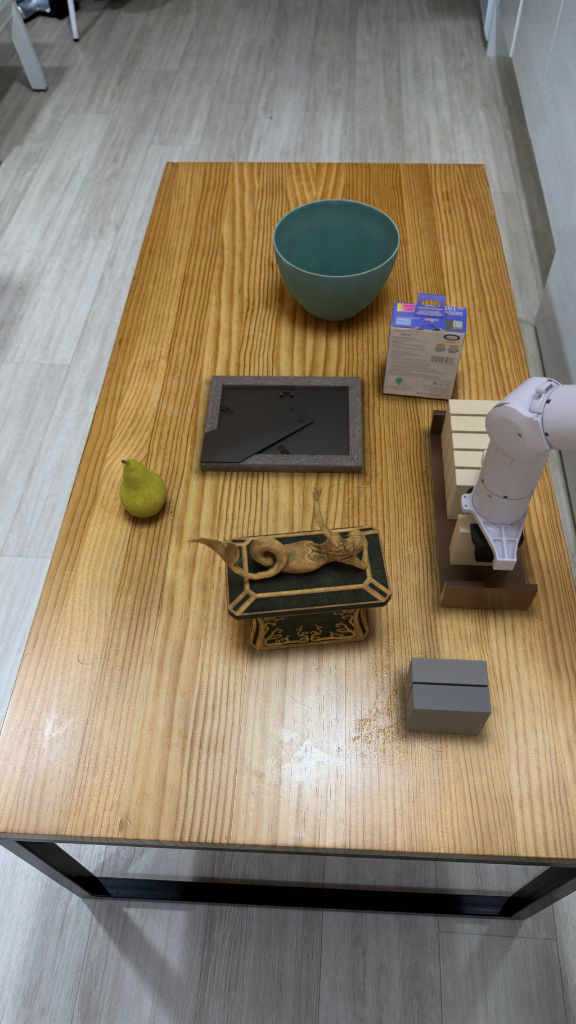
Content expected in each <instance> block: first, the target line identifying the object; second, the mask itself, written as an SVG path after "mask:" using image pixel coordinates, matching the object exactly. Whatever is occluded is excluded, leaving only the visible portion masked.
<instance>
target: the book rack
mask: <svg viewBox="0 0 576 1024" xmlns="http://www.w3.org/2000/svg"><path fill="white" fill-rule="evenodd" d="M446 411H447V409H446V410H445V409H444V410H443V409H433V410H432V415H431V420H430V425H429V429H428V430H429V431H428V444H429V446H428V448H429V460H430V461H429V463H430V477H431V492H432V505H433V507H432V508H433V522H434V523H433V524H434V537H435V553H436V567H437V568H436V569H437V582H438V583H437V585H438V598H439V607H440V608H459V609H485V610H486V609H487V610H508V611H509V610H510V611H529V609H530V607H531V605H532V603H533V601H534V599H535V597H536V596H537V594H538V591H539V586H538V584H537V583H527V581H526V573H525V568H524V567H525V566H524V561H523V560H524V559H523V552H522V546H521V547H518V549H517V552H516V558H517V561H516V563H515V566H514V568H513V570H494V569H493V566H479V565H452V564H450V553H449V546H450V543H451V539H452V536H453V533H454V529H455V526H456V522H457V519H447V506H446V503H447V501H446V493H445V484H446V483H445V480H444V466H443V455H442V451H443V449H442V442H441V433H442V429H443V424H444V420H445V415H446Z"/></svg>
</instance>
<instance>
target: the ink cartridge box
mask: <svg viewBox="0 0 576 1024" xmlns="http://www.w3.org/2000/svg"><path fill="white" fill-rule="evenodd" d="M446 299H447V295H445V294H436V293H425V292H418V294H417V300H416V303H408V302H398V301H395V302H393V305H392V312H391V317H390V323H389V331H388V339H387V340H388V341H387V348H386V349H387V351H386V357H385V358H386V360H385V368H384V369H385V370H384V377H383V378H384V380H383V384H382V393H383V394H387V395H398V396H407V397H408V396H409V397H417V398H428V399H439V400H448V401H449V399H452V396H453V393H454V387H455V383H456V380H457V379H456V378H457V374H458V370H459V365H460V361H461V357H462V351H463V346H464V342H465V338H466V334H467V324H468V322H467V321H468V311H467V310H468V309H467V307H466V306H452V305H446ZM431 300H432V301H435V302H437V303H439V305H437V304H424V303H422V302H425V301H431Z"/></svg>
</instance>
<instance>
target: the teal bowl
mask: <svg viewBox="0 0 576 1024" xmlns="http://www.w3.org/2000/svg"><path fill="white" fill-rule="evenodd" d="M400 242H401V234H400V230H399V228H398V226H397V224H396V223H395V221H394V220H393V219H392V218H391V217H390V216H389V215H388V214H387V213H386V212H384V211H382V210H381V209H379V208H377V207H375V206H372V205H370V204H368V203H364V202H362V201H357V200H352V199H343V198H328V199H320V200H319V199H318V200H314V201H310V202H306V203H304V204H301V205H299V206H297V207H294V208H293V209H291V210H290V211H288V212H287V213H285V215H283V216H282V217H281V218H280V219H279V221H277V223H276V224H275V227H274V229H273V234H272V245H273V252H274V256H275V260H276V265H277V268H278V271H279V273H280V276H281V279H282V280H283V282H284V284H285V287H286V289H288V292H289V293H290V294H291V296H292V297H293V298H294V300H295V301H296V302H297V303H298V304H299V305H300V306H301V307H302V308H303V309H304V310H305V311H307V312H308V313H309V314H311V315H312V316H313V317H315V318H317V319H320V320H322V321H328V322H340V321H341V322H342V321H345V320H348V319H351V318H353V317H355V316H356V315H357V314H359V313H361V312H362V311H363V310H364V309H365V308H367V307H368V306H369V305H370V304H372V302H373V301H374V300H375V299H376V298H377V297H378V296H379V294H380V293H381V291H382V290H383V288H384V287H385V285H386V283H387V281H388V279H389V278H390V276H391V273H392V272H393V270H394V266H395V263H396V260H397V258H398V255H399V250H400V249H399V248H400V244H401V243H400Z"/></svg>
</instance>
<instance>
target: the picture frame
mask: <svg viewBox="0 0 576 1024" xmlns="http://www.w3.org/2000/svg"><path fill="white" fill-rule="evenodd" d="M361 391H362V389H361V376H308V375H307V376H304V375H303V376H302V375H299V376H297V375H296V376H294V375H292V376H291V375H211V383H210V391H209V396H208V397H209V398H208V405H207V413H206V419H205V420H206V421H205V428H204V433H203V440H202V446H201V448H202V449H201V454H200V460H199V462H200V467H201V472H252V473H253V472H255V473H256V472H257V473H258V472H259V473H261V472H263V473H318V474H319V473H325V474H326V473H327V474H363V466H364V464H363V431H362V424H363V423H362V392H361Z"/></svg>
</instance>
